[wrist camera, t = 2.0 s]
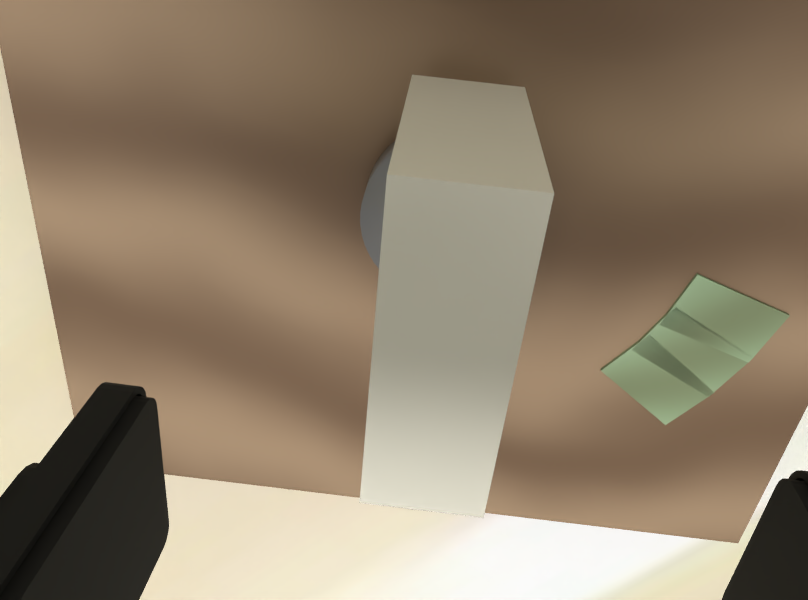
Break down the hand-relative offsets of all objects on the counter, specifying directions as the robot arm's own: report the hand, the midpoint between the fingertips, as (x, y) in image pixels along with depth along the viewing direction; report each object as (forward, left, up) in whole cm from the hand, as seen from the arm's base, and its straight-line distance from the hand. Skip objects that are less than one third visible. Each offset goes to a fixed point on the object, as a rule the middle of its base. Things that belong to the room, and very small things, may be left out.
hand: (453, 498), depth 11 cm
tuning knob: (+3, 0, -9) cm, 10 cm away
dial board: (-1, 0, -11) cm, 11 cm away
